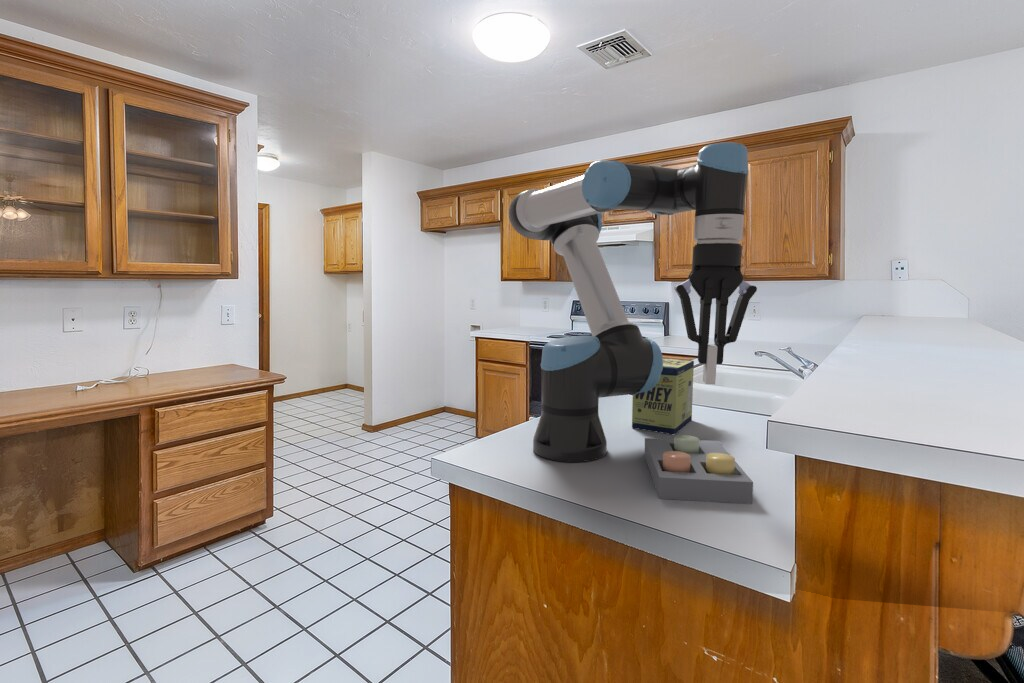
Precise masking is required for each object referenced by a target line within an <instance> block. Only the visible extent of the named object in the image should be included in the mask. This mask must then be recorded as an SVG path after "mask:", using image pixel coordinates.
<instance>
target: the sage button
mask: <svg viewBox="0 0 1024 683" xmlns="http://www.w3.org/2000/svg"><path fill="white" fill-rule="evenodd" d="M673 438H674V451H679V452H684V453H699V440H700V438H699V437H697V436H694V435H688V434H680V435H679V434H677V435H674V437H673Z"/></svg>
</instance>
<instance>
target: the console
mask: <svg viewBox="0 0 1024 683" xmlns="http://www.w3.org/2000/svg"><path fill="white" fill-rule="evenodd" d="M643 451H644V453H643V454H644V458H645V461H646V464H647V467H648V470H649V473H650V476H651V479H652V483H653V484H654V485H653V486H654V487H655V491H656V495H657V497H658V500H659V499H660V500H661V499H662V500H676V501H677V500H678V501H694V502H695V501H696V502H710V503H711V502H715V503H731V504H746V505H748V504H749V505H750V504H751V505H752V504H753V494H754V493H753V492H754V491H753V490H754V489H753V488H754V482H753V481H752V479H751V478H750V476H749V475H748V474H747V473H746V472H745V471H744V469H743V468H742V467H741V466H740V465H739V463H737V461H736V460H735V470H734V475H729V474H708V473H706V455H707V454H709V453H723V454H728V455H731V454H730V453H729V452H728V451H727V449H726V448H725V447H724V446H723V445H722V444H721V443H720V441H719V440H702V439H701V440H700V439H699V453H687V454H689V455H690V456H691V459H690V473H687V472H667V471H663V453H664V452H667V451H674V439H673V438H656V437H655V438H650V437H644V450H643Z"/></svg>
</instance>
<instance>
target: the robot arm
mask: <svg viewBox="0 0 1024 683" xmlns="http://www.w3.org/2000/svg"><path fill="white" fill-rule="evenodd" d="M748 156H749V154H748V148H747V147H746V146H745V145H744V144H742V143H739V142H731V141H729V142H726V141H725V142H724V141H723V142H716V143H710V144H708V145H705V146H704V147H702V148H701V149H700V150H699V151H698V156H697V159H696V163H695V164H693V165H690V166H686V167H682V168H673V167H672V168H670V167H663V166H662V167H661V166H653V165H645V164H638V163H630V162H623V161H618V160H613V159H611V160H596V161H594V162H592V163H591V164H590V165H589V167H588V168H587V169H586V170H585V172H584V174H583V175H581V176H578V177H575V178H572V179H569V180H566V181H564V182H561V183H558V184H555V185H552V186H549V187H547V188H544V189H539V188H530V189H527V190H525V191H524V190H523V191H522V192H519V193H518V194H517V195H516V196H515V197H514V198H513V199H512V201H510V205H509V208H508V220H509V222H510V224H511V226H512V228H513V229H514V230H515V231H516V232H517V233H518V234H519V235H521V236H522V237H524V238H527V239H530V240H535V241H550V242H551V244H552V247H553V250H554V251H555V253H556V254H557V255H560V256H562V257H563V260H564V262H565V264H566V267H567V270H568V273H569V276H570V278H571V281H572V283H573V287H574V289H575V292H576V295H577V297H578V301H579V303H580V306H581V309H582V311H583V313H584V316H585V319H586V323H587V325H588V327H589V331H590V333H591V335H578V336H566V337H564V336H563V337H561V338H556V339H553V340H550V341H548V342H547V343H545V344H544V346H543V347H542V350H541V351H542V353H541V362H540V369H541V414H540V417H539V420H538V423H537V426H536V429H535V432H534V436H533V440H532V441H533V442H532V450H533V453H535V454H536V455H537V456H539V457H542V458H544V459H547V460H552V461H557V462H563V463H564V462H565V463H579V462H580V463H581V462H582V463H583V462H589V461H595V460H598V459H600V458H602V457H604V456H606V454H607V451H608V450H607V448H608V447H607V446H608V445H607V438H606V434H605V431H604V429H603V428H604V427H603V425H602V421H601V419H600V415H599V402H600V400H599V399H600V398H609V397H617V396H627V395H631V396H633V395H634V394H638V393H642V392H647V391H649V390H651V389H652V388H654V387H655V386H656V384H657V383H658V381H659V379H660V377H661V372H662V370H663V358H664V357H663V353H662V349H661V347H660V346H659V344H658V343H657V342H656V341H654V340H652V339H650V338H648V337H647V338H644V337H643V335H642V333H641V330H640V328H639V325H637V324H636V323H633V322H629V319H628V317H627V314H626V313H625V309H624V307H623V305H622V302H621V299H620V297H619V295H618V293H617V290H616V288H615V284H614V282H613V280H612V278H611V275H610V272H609V271H608V268H607V265H606V262H605V261H604V257H603V255H602V254H601V251H600V249H599V248H600V247H599V245H598V240H599V238H600V234H601V232H602V231H601V230H602V227H603V222H602V219H603V214H602V213H607V212H613V211H617V210H632V211H633V210H634V211H645V212H650V213H652V214H654V215H655V216H656V215H657V216H663V215H668V216H671V215H674V214H678V213H685V212H689V211H694V229H693V241H694V242H696V244H694V246H692V260H691V261H692V264H691V271H690V273H689V275H688V277H687V280H685V281H683V282H682V283H680V284H676V285H675V286H674V291H675V293H676V294H677V295H678V297H679V299H680V304H681V309H682V314H683V320H684V325H685V330H686V335H687V338H688V339H689V341H692V342H694V343H697V345H698V350H697V351H698V352H697V362H698V363H699V364H701V365H702V364H703V369H702V373H703V374H702V382H704V383H705V385H716V380H717V365H722V364H723V362H724V351H725V350H724V349H725V347H726V345H727V344H728V345H729V344H731V343H735V342H736V341H737V339H738V336H739V332H740V330H741V327H742V324H743V321H744V318H745V316H746V315H745V314H746V312H747V309H748V306H749V302H750V301H751V299H752V297H753V296H754V295H755V294H756V292H757V291H758V287H757V286H756V285H752V284H750V283H748V282H747V281H745V280H744V275H743V274H742V270H741V266H742V254H743V253H742V252H743V251H742V250H743V246H742V244H741V243H739V241H742V240H743V236H744V222H745V221H744V219H745V202H746V192H747V182H748V174H749V169H748V166H749V165H748V161H749V160H748V158H749V157H748ZM691 287H692V288H693V290H694V291H695V292H696V294H697V295H698V296H699V304H700V306H699V307H700V308H699V324H698V332H697V328H696V322H695V317H694V311H693V307H692V306H693V305H692V301H691V298H690V293H691V291H692V290H691ZM738 287H739V288H738ZM737 288H738V290H737ZM736 290H737V291H738V292H737V293H738V294H739V295H738V297H737V300H736V303H735V306H734V308H733V312H732V315H731V318H730V322H729V323H728V327H727V314H728V306H729V298H730V297H731V296H732V294H734V292H735V291H736ZM713 299H715V317H714V319H715V320H714V332H713V333H714V335H713V336H714V337H713V342H714V343H709V341H710V326H711V324H710V323H711V314H712V313H711V311H712V310H711V309H712V304H713Z"/></svg>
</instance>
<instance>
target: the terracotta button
mask: <svg viewBox="0 0 1024 683" xmlns="http://www.w3.org/2000/svg"><path fill="white" fill-rule="evenodd" d="M690 459H691V456H690V455H689V454H687V453H684V452H679V451H667V452H664V453H663V471H667V472H687V473H690Z"/></svg>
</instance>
